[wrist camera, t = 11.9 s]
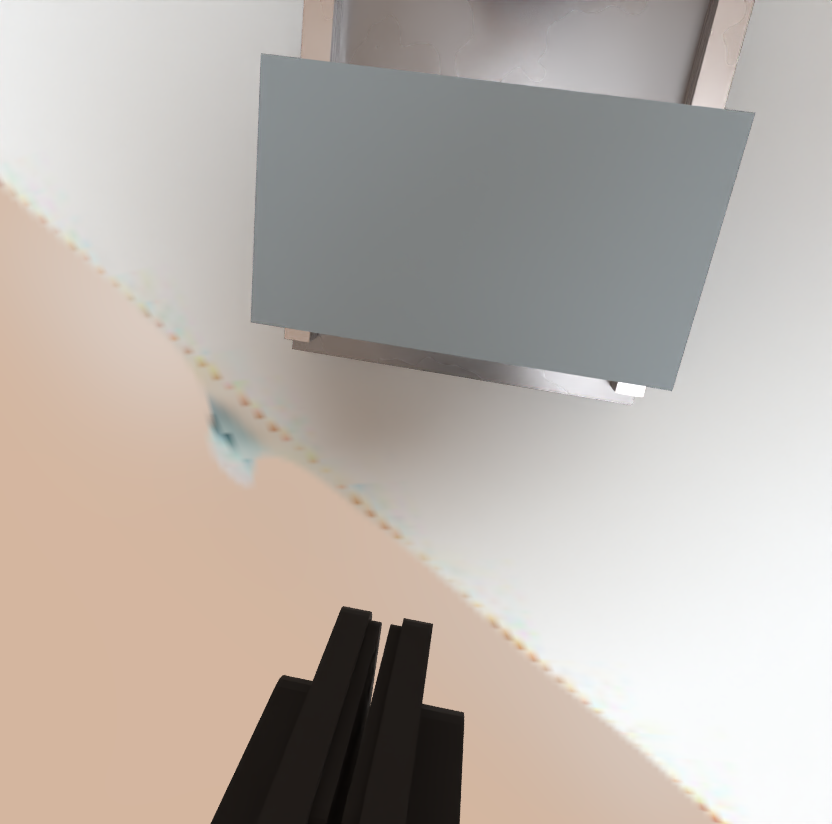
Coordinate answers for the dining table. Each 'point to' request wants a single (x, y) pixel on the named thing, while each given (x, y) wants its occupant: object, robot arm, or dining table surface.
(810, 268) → the dining table surface
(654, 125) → the plate
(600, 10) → the vise base
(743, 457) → the dining table surface
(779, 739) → the dining table surface
